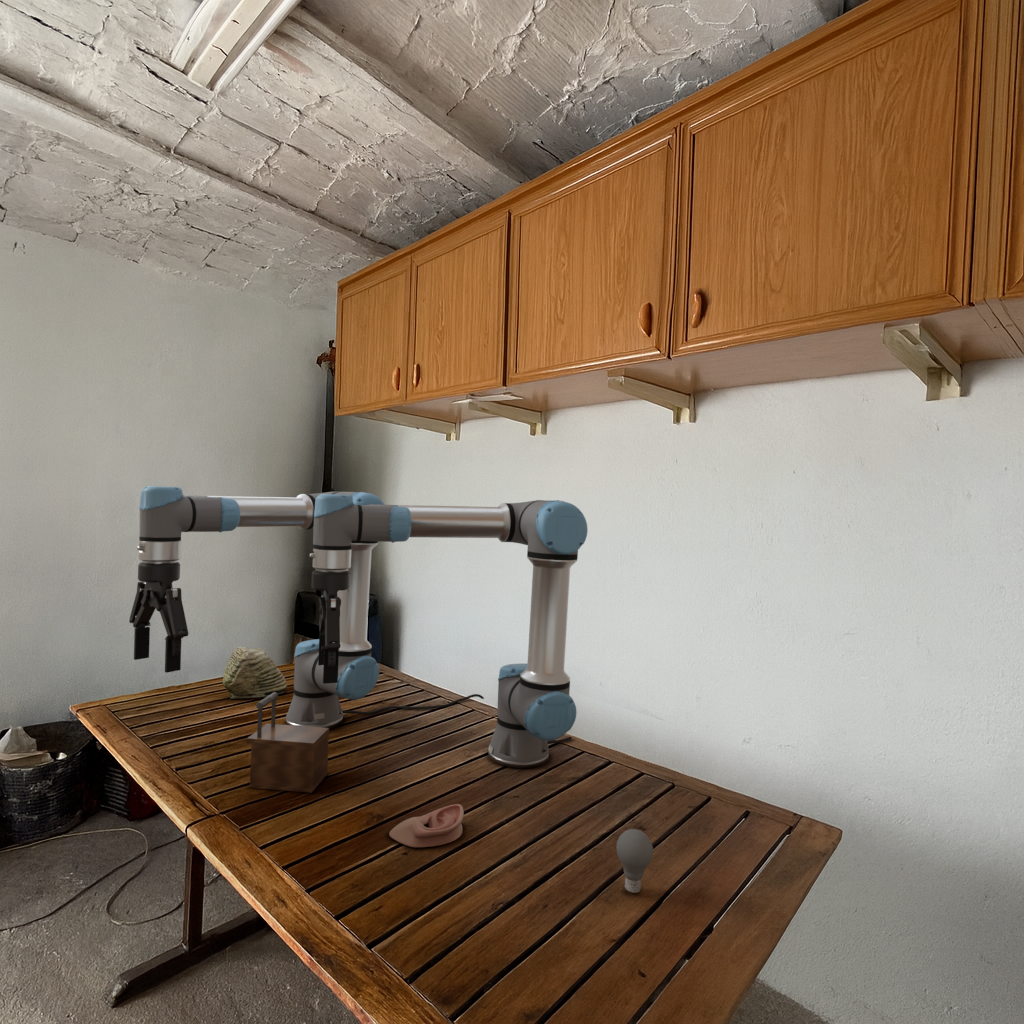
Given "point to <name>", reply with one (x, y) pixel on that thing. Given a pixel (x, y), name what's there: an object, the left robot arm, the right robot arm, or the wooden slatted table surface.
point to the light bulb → (634, 857)
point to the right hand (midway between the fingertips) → (327, 673)
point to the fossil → (252, 674)
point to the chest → (288, 766)
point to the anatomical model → (431, 828)
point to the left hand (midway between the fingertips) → (156, 664)
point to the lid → (284, 730)
